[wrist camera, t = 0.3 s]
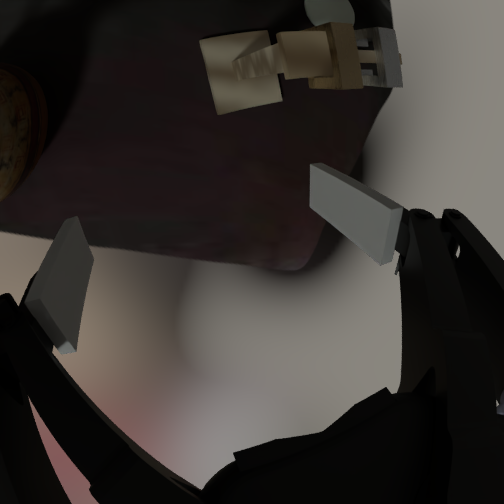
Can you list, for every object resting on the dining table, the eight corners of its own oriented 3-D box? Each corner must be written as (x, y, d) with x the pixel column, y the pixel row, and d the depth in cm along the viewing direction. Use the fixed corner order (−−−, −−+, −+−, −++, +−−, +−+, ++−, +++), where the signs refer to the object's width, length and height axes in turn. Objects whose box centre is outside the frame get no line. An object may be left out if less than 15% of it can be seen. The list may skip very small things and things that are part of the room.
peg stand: (199, 41, 30) (238, -4, 14) (331, 30, 33) (421, 17, 18) (217, 114, 37) (268, 127, 21) (342, 92, 40) (432, 105, 25)
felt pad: (298, -14, 27) (300, -15, 27) (346, -9, 29) (348, -10, 29) (310, 34, 33) (312, 34, 33) (357, 36, 35) (359, 36, 34)
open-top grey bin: (343, 32, 26) (378, 26, 21) (359, 33, 27) (394, 29, 21) (352, 84, 31) (387, 87, 25) (367, 83, 31) (402, 87, 26)
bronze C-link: (298, 31, 25) (330, 21, 20) (318, 31, 26) (352, 23, 20) (309, 88, 30) (342, 89, 24) (329, 86, 30) (363, 88, 25)
